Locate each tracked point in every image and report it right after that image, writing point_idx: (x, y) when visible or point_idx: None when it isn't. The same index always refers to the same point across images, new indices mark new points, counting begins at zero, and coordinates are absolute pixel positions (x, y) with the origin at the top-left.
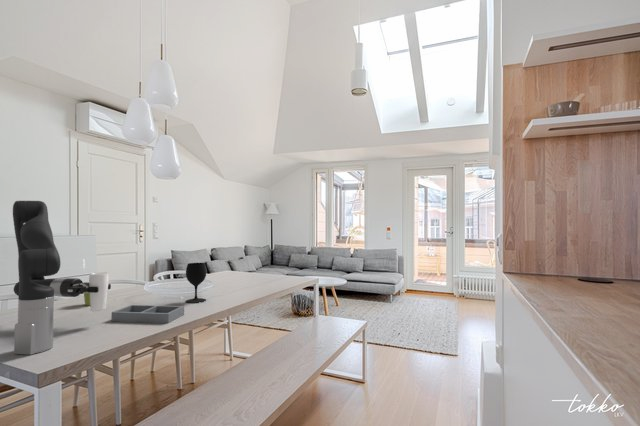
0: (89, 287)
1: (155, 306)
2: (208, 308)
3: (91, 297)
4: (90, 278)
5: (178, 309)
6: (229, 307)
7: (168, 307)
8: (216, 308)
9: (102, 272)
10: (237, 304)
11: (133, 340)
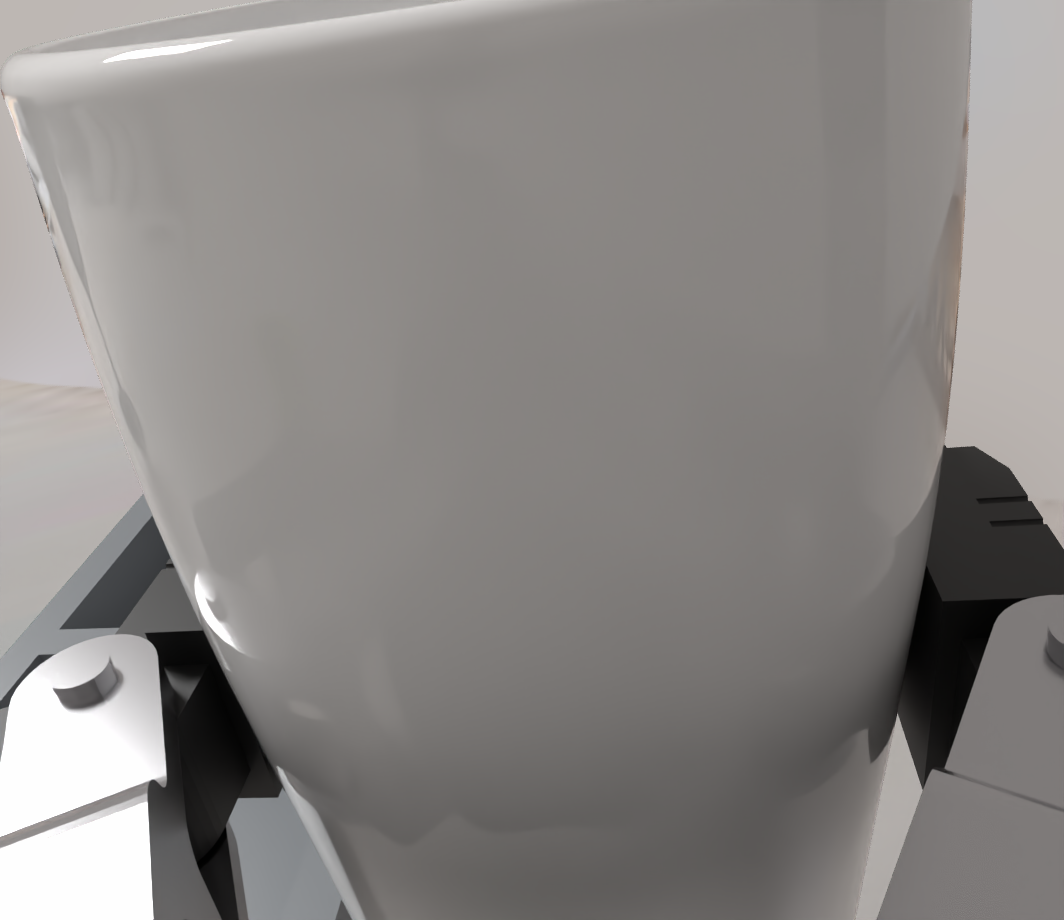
0: (1013, 594)
1: (70, 639)
2: (41, 466)
3: (858, 901)
4: (955, 205)
5: None
6: (79, 393)
7: (139, 546)
8: (71, 432)
9: (42, 47)
10: (3, 387)
11: None
